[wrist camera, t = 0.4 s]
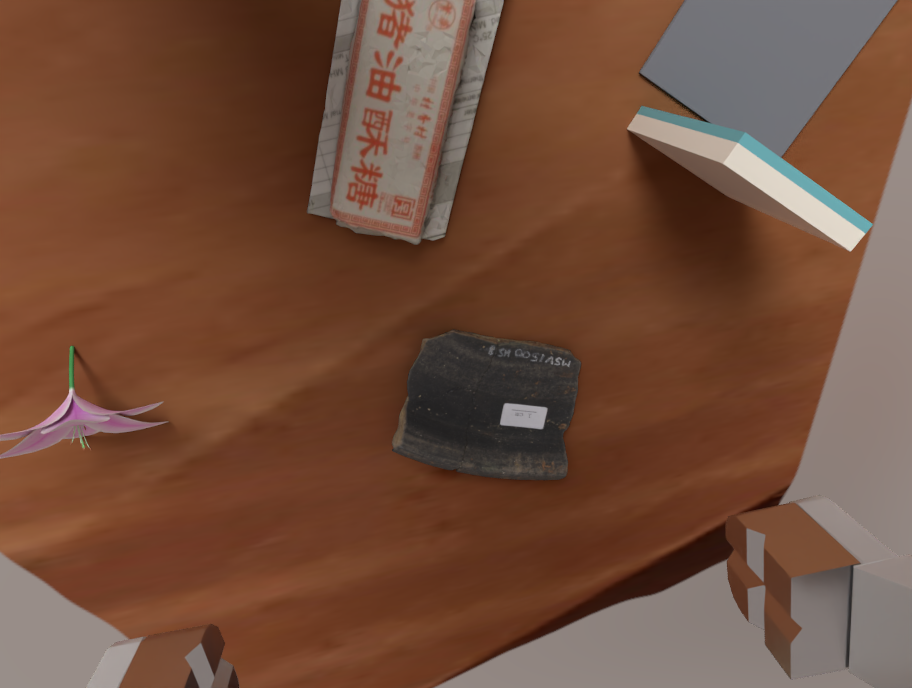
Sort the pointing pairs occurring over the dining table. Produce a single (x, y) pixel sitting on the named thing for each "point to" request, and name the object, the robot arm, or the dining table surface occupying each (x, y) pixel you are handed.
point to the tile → (750, 175)
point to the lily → (75, 422)
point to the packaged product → (400, 113)
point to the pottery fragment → (489, 406)
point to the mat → (761, 60)
